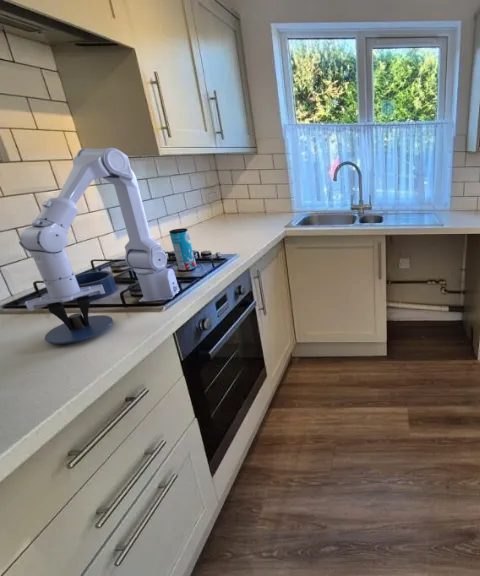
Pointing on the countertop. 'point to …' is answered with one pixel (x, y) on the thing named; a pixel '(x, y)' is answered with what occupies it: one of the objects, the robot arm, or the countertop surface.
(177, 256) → the beverage can
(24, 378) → the countertop surface
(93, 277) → the tin
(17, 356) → the countertop surface
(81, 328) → the tin lid
